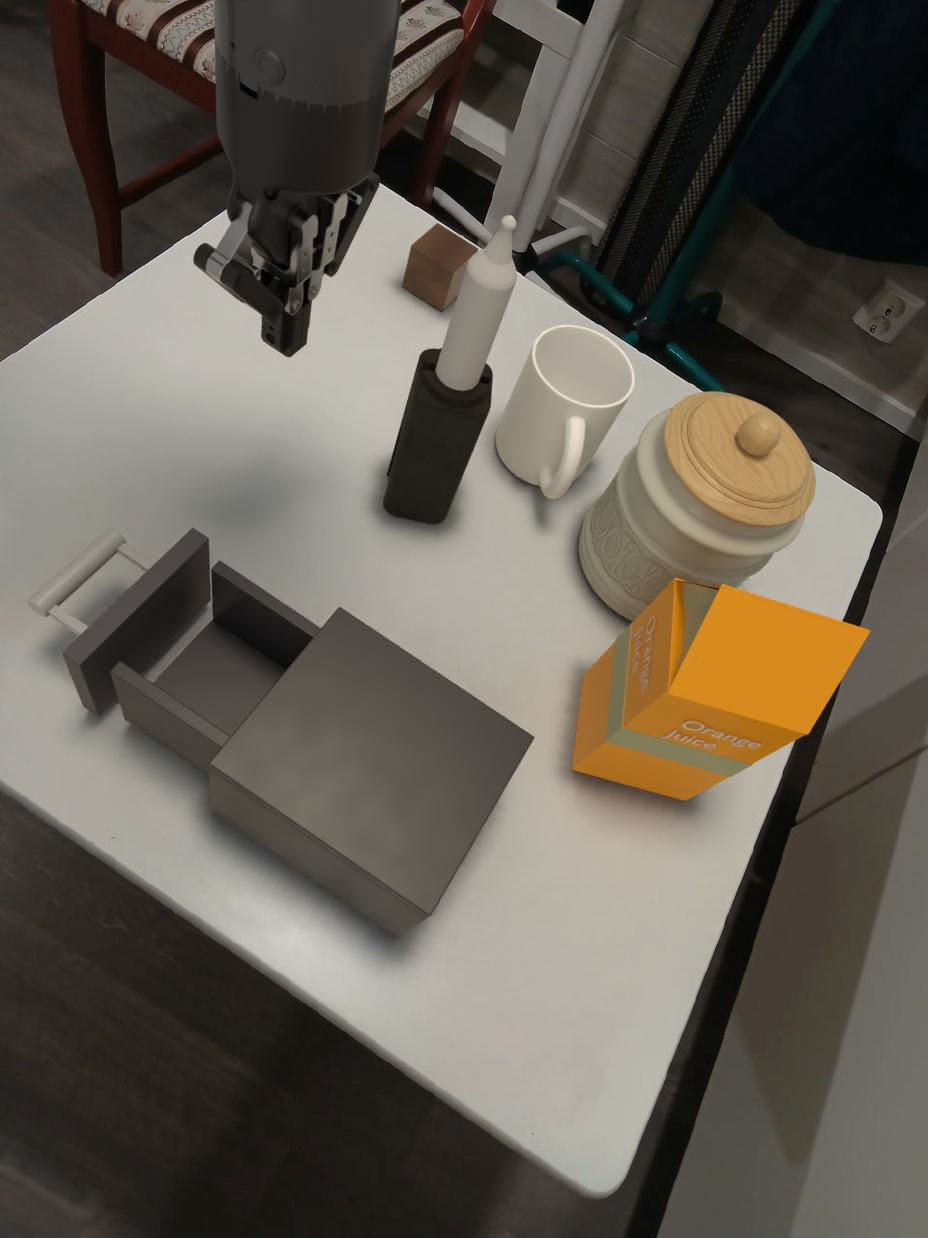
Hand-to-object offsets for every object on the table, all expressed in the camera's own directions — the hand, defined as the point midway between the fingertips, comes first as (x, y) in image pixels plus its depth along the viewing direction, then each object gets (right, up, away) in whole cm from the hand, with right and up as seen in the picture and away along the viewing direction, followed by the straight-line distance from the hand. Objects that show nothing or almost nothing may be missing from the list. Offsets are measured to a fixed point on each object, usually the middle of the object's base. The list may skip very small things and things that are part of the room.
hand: (284, 344), depth 50 cm
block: (+8, +14, +26) cm, 31 cm away
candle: (+7, -7, +15) cm, 18 cm away
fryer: (+4, -28, +2) cm, 29 cm away
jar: (+26, -12, +17) cm, 34 cm away
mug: (+17, -4, +19) cm, 26 cm away
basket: (-6, -21, +2) cm, 22 cm away
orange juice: (+23, -26, +10) cm, 36 cm away
